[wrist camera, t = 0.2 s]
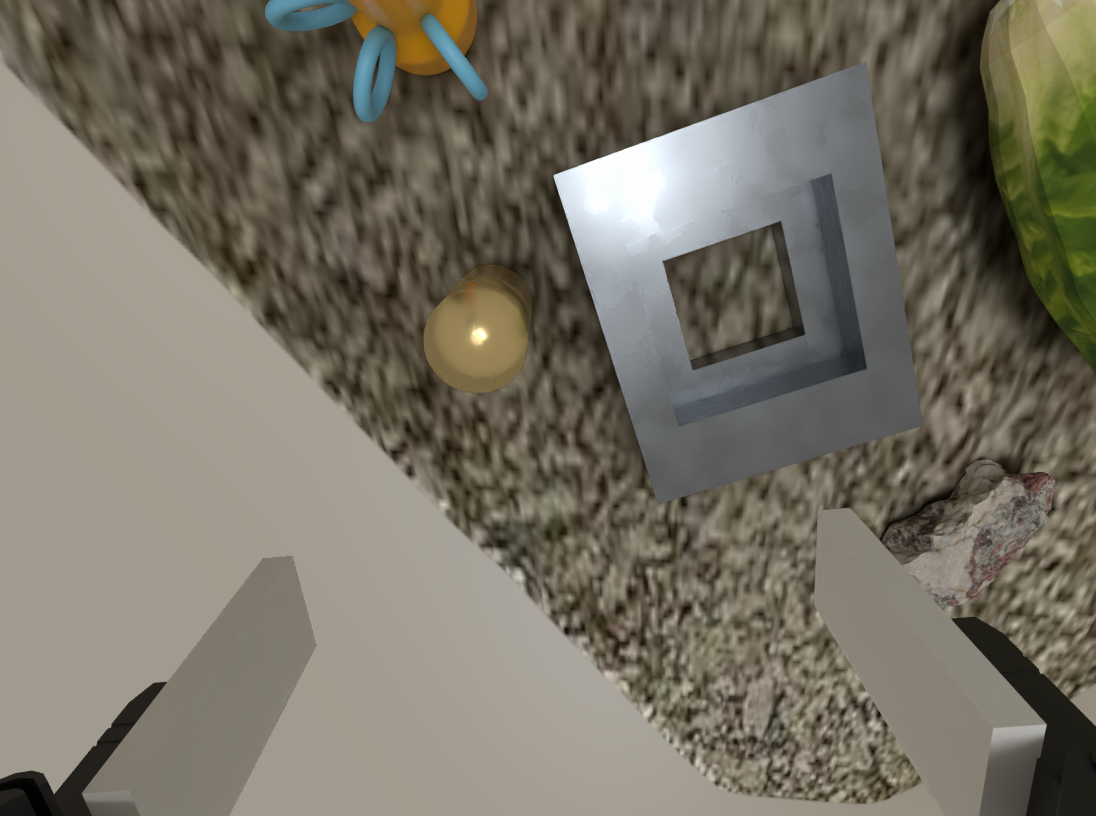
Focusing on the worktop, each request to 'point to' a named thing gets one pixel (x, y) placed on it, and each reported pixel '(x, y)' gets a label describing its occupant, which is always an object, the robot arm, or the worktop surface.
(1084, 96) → the lettuce
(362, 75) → the cylinder
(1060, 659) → the worktop surface
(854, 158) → the jig
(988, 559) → the mineral rock
